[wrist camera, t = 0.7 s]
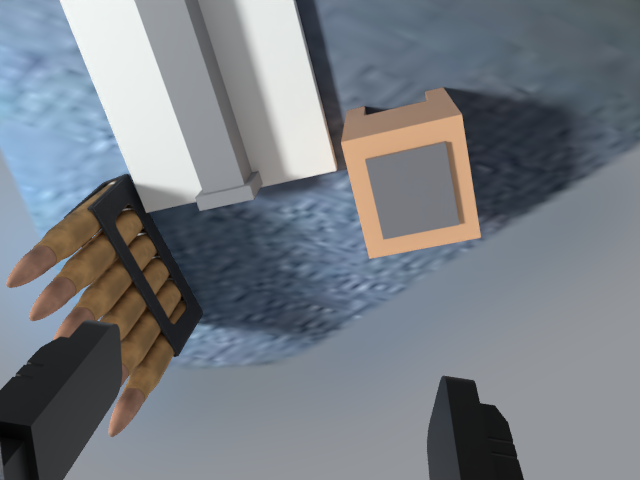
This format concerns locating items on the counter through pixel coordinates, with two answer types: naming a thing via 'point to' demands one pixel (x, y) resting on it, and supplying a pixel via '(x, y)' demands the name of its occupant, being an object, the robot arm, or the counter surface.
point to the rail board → (250, 83)
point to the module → (411, 175)
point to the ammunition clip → (116, 286)
